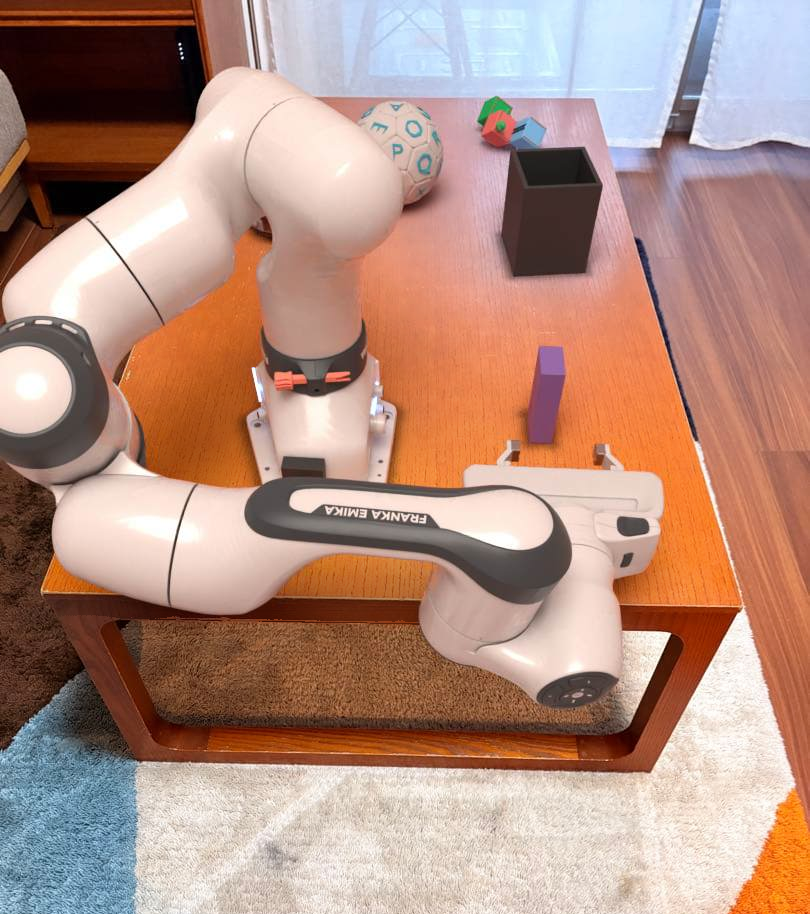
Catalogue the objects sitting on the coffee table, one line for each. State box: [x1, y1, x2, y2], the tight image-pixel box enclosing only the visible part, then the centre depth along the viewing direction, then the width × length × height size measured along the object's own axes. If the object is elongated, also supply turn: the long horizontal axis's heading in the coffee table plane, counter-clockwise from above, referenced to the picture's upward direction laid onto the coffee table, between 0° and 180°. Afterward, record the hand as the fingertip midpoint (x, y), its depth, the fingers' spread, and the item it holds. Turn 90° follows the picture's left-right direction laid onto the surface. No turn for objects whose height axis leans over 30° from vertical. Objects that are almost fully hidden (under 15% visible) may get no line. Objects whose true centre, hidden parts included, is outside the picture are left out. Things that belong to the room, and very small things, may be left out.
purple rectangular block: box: [526, 345, 567, 445], centre depth 98 cm, size 5×3×11 cm, turn 177°
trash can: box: [500, 146, 604, 277], centre depth 121 cm, size 11×11×14 cm
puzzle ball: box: [356, 100, 444, 206], centre depth 130 cm, size 15×15×15 cm
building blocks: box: [477, 95, 548, 149], centre depth 145 cm, size 8×8×12 cm
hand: (556, 445), depth 88 cm, fingers open, 8 cm apart
